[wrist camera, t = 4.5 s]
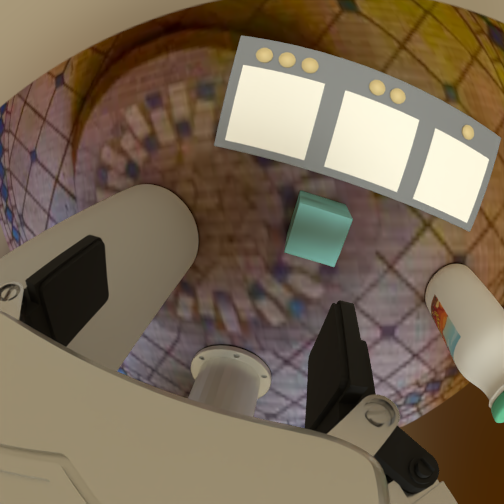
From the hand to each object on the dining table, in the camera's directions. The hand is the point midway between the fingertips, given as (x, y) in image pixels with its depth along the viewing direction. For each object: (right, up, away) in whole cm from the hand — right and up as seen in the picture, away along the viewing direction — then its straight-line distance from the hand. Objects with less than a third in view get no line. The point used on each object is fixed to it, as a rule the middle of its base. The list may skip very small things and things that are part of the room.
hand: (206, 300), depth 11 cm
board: (+14, +14, +14) cm, 24 cm away
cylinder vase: (-10, +4, +24) cm, 26 cm away
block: (+9, +5, +20) cm, 22 cm away
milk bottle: (+27, -3, +20) cm, 34 cm away
